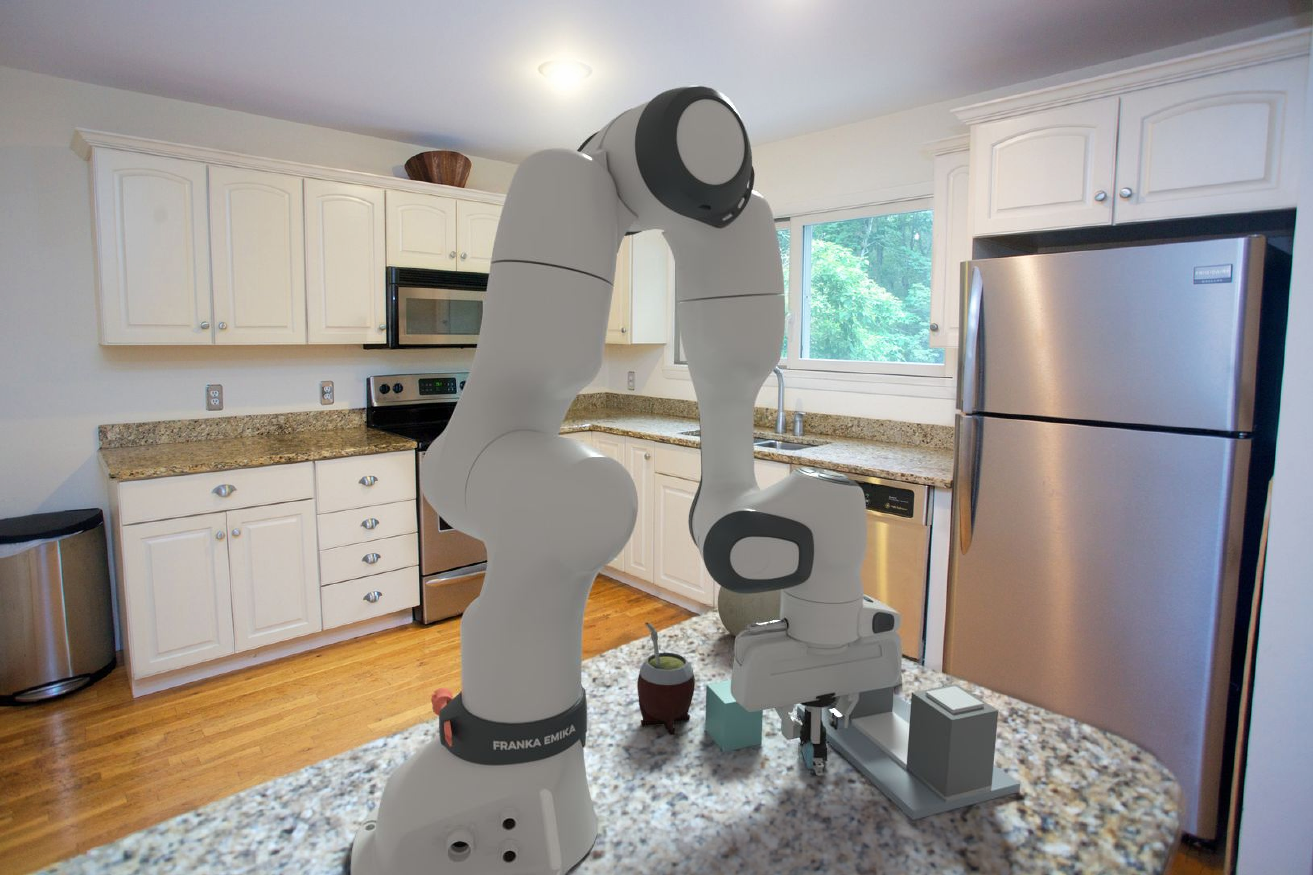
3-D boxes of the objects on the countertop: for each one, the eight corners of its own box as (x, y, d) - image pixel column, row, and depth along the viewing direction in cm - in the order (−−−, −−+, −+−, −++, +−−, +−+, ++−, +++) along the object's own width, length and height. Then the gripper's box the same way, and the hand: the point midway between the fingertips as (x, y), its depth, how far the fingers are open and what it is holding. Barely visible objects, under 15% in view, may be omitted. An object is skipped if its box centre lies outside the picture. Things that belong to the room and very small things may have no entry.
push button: (843, 779, 79) (847, 693, 78) (794, 779, 79) (797, 693, 78) (829, 745, 86) (832, 665, 85) (784, 745, 86) (786, 665, 85)
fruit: (700, 639, 116) (702, 548, 113) (740, 619, 124) (743, 533, 122) (756, 659, 109) (760, 562, 107) (795, 636, 118) (799, 546, 115)
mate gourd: (683, 704, 95) (686, 594, 93) (703, 736, 88) (707, 617, 86) (627, 711, 93) (629, 598, 91) (643, 745, 86) (645, 623, 83)
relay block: (763, 696, 86) (761, 743, 86) (743, 677, 90) (741, 722, 91) (725, 703, 84) (723, 752, 85) (706, 683, 88) (705, 730, 89)
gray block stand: (912, 819, 73) (920, 722, 72) (796, 712, 93) (800, 635, 92) (1019, 791, 78) (1028, 700, 77) (887, 695, 98) (892, 622, 97)
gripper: (749, 637, 74) (745, 764, 76) (914, 613, 81) (906, 730, 83) (722, 615, 80) (719, 733, 82) (878, 594, 87) (871, 703, 89)
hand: (814, 731), depth 82 cm, fingers closed on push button, 5 cm apart
